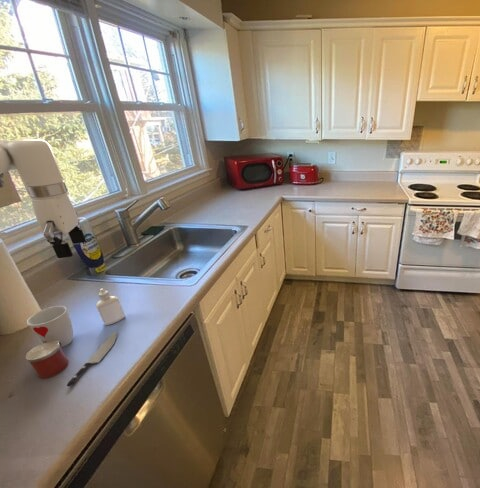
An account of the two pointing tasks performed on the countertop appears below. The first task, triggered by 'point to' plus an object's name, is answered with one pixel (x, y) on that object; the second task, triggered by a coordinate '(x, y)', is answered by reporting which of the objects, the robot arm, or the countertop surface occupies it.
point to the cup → (52, 325)
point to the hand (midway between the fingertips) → (73, 249)
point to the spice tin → (47, 359)
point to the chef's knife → (95, 357)
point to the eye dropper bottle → (109, 308)
